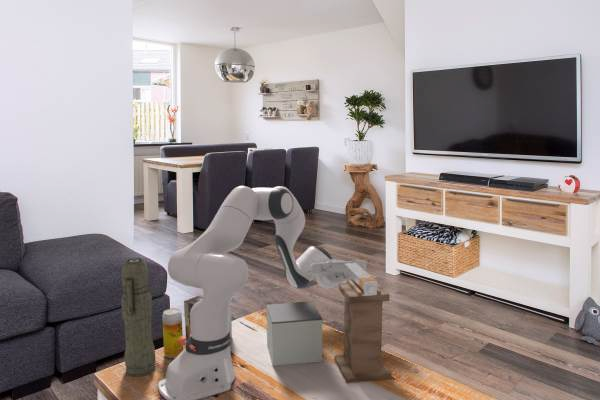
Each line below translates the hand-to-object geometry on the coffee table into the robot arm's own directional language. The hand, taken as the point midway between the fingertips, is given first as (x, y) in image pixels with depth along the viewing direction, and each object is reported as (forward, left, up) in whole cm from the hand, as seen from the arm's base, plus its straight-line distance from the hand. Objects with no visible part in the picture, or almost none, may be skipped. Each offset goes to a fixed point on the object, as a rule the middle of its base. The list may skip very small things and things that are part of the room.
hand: (342, 263), depth 164 cm
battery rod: (-9, -16, -1) cm, 19 cm away
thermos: (-63, +25, -28) cm, 74 cm away
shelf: (-21, +2, -27) cm, 34 cm away
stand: (-11, -20, -27) cm, 36 cm away
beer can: (-51, +27, -28) cm, 64 cm away
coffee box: (-41, +27, -28) cm, 57 cm away
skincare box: (-32, +28, -28) cm, 51 cm away
